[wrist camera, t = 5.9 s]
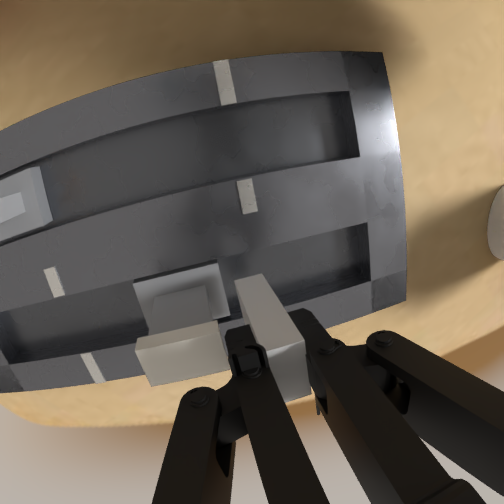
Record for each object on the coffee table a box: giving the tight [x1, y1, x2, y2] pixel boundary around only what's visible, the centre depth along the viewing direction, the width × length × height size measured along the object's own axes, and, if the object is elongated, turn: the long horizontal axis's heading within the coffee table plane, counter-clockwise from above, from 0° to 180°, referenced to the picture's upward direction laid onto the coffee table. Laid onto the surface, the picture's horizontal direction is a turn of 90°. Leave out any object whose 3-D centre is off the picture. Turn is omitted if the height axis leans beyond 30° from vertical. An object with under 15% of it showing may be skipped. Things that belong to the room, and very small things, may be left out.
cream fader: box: [133, 259, 230, 387], centre depth 16 cm, size 3×5×7 cm
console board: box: [0, 51, 407, 393], centre depth 18 cm, size 17×32×3 cm, turn 101°
